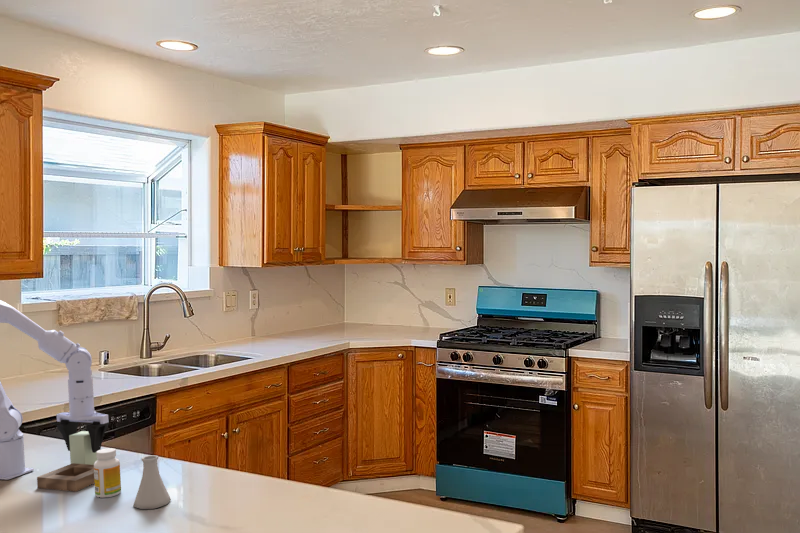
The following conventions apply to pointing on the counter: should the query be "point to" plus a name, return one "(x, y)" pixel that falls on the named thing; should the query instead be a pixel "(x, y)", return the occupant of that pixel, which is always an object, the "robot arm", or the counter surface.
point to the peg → (81, 449)
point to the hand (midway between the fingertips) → (84, 450)
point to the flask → (151, 486)
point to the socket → (68, 478)
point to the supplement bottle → (107, 473)
